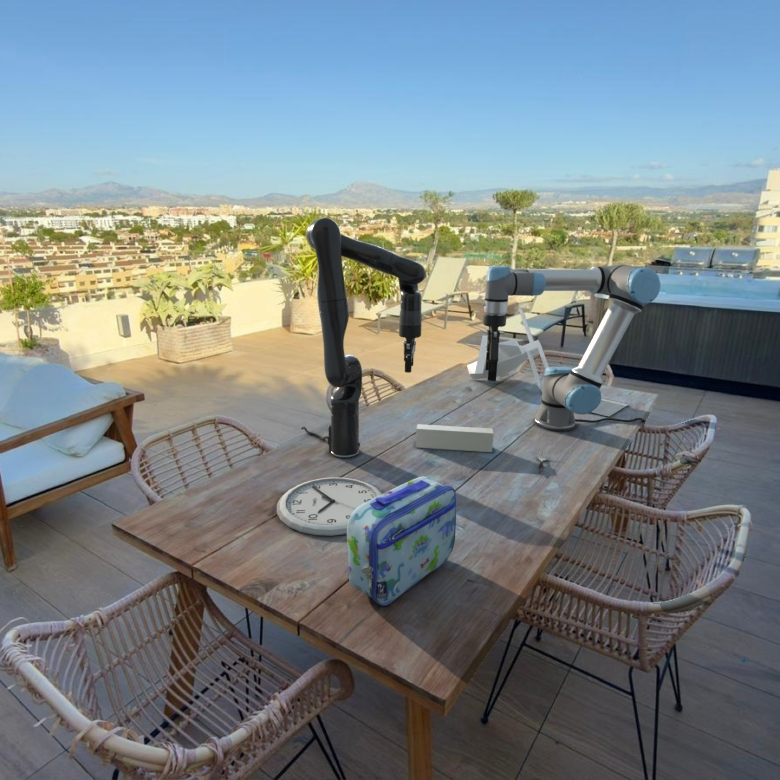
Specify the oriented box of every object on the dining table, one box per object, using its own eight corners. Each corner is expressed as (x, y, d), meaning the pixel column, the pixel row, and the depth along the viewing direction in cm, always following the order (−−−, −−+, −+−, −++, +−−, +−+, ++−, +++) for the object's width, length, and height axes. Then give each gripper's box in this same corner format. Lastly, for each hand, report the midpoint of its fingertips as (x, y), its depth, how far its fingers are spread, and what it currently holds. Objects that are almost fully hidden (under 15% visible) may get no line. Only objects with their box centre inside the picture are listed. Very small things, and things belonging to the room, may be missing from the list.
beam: (491, 447, 183) (492, 428, 180) (492, 452, 178) (493, 433, 176) (416, 442, 185) (417, 424, 183) (416, 447, 181) (416, 428, 179)
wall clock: (392, 527, 129) (268, 531, 127) (391, 533, 130) (269, 537, 127) (383, 473, 158) (282, 475, 155) (383, 478, 158) (282, 480, 156)
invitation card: (608, 416, 214) (573, 407, 224) (608, 416, 214) (573, 408, 224) (628, 404, 229) (594, 396, 238) (628, 405, 229) (594, 397, 238)
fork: (534, 474, 163) (535, 468, 162) (539, 454, 177) (539, 449, 176) (543, 475, 162) (544, 469, 161) (547, 455, 176) (547, 450, 175)
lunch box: (376, 619, 101) (377, 524, 95) (340, 592, 109) (339, 502, 102) (459, 562, 119) (465, 479, 113) (424, 542, 126) (427, 463, 120)
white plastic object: (488, 421, 262) (468, 398, 237) (469, 348, 284) (449, 320, 260) (560, 397, 250) (547, 371, 225) (534, 322, 272) (520, 291, 247)
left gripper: (401, 318, 183) (400, 363, 188) (397, 325, 170) (396, 374, 174) (422, 319, 182) (421, 364, 187) (420, 326, 169) (418, 375, 174)
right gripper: (481, 307, 186) (477, 365, 192) (485, 319, 162) (481, 384, 169) (503, 308, 185) (498, 366, 191) (510, 320, 161) (504, 386, 168)
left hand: (409, 369), depth 181 cm, fingers open, 8 cm apart
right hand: (490, 375), depth 180 cm, fingers open, 13 cm apart
